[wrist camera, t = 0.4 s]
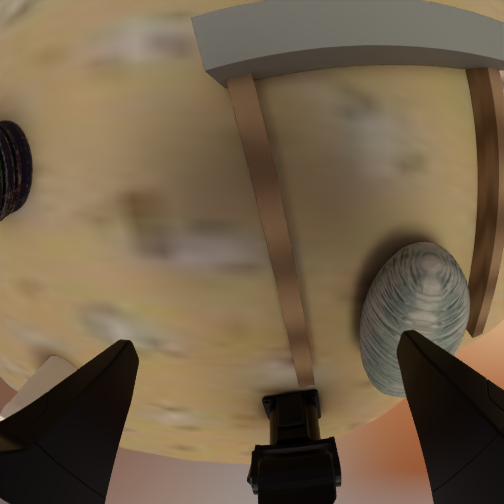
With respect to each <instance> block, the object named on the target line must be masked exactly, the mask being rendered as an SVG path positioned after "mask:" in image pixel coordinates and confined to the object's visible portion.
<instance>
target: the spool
mask: <svg viewBox="0 0 504 504" xmlns="http://www.w3.org/2000/svg"><path fill="white" fill-rule="evenodd" d="M469 313H470V296H469V289H468V286H467V282H466V278H465V276H464V274H463V272H462V270H461V268H460V266H459V265H458V263H457V262H456V260H455V259H454V257H453V256H452V255H451V254H450V253H449V252H448V251H447V250H445V249H444V248H442V247H441V246H439V245H436V244H434V243H429V242H417V243H414V244H410V245H406V246H405V247H403V248H401V249H400V250H399V251H397V252H396V253H395V254H394V255H393V256H392V257H391V258H390V259H389V260H388V261H387V262H386V263H385V264H384V265H383V267H382V268H381V270H380V271H379V273H378V274H377V276H376V277H375V279H374V281H373V282H372V284H371V286H370V289H369V291H368V294H367V296H366V299H365V301H364V304H363V308H362V312H361V319H360V328H359V330H360V351H361V358H362V362H363V366H364V369H365V371H366V373H367V375H368V377H369V379H370V381H371V383H372V384H373V385H374V386H375V387H376V388H377V389H378V390H379V391H381V392H382V393H384V394H387V395H391V396H398V397H406V394H405V390H404V386H403V381H402V377H401V372H400V368H399V363H398V359H397V354H396V351H397V346H398V343H399V340H400V337H401V334H402V332H403V331H406V330H416V331H417V332H419V333H420V334H422V335H423V336H425V337H426V338H428V339H429V340H431V341H432V342H434V343H435V344H437V345H438V346H440V347H441V348H443V349H444V350H446V351H447V352H449V353H450V354H452V355H453V356H454V354H455V353H456V351H457V349H458V347H459V345H460V342H461V340H462V338H463V336H464V333H465V330H466V326H467V323H468V319H469Z"/></svg>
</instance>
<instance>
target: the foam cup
mask: <svg viewBox="0 0 504 504" xmlns="http://www.w3.org/2000/svg"><path fill="white" fill-rule="evenodd" d="M75 371H77V369H76V367H75V366H73V365H72V364H71V363H69V362H68V361H67V360H65V359H63V358H61V357H58V356H51V357H50V358H49V359H48V360H47V361H46V362H45V363H44V364H43V365H42V366H41V367H40V368H39V369H38V370H37V371H36V372H35V374H34V375H33V376H32V377H31V378H30V379H29V380H28V381H27V383H26V384H25V385H24V386H23V387H22V388H21V389H20V391H19V392H18V393H17V394H16V395H15V397H14V398H13V399H12V400H11V401H10V402H9V403H7V404H6V405H5V407H4V408H3V410H2V412H1V413H0V421H2V420H4V419H6V418H7V417H9V416H11V415H12V414H14V413H16V412H17V411H19V410H21V409H22V408H24V407H26V406H27V405H29V404H30V403H32V402H33V401H35V400H36V399H38V398H39V397H41V396H42V395H43V394H45V393H46V392H49V390H50V389H52V388H53V387H54V386H56V385H57V384H59V383H60V382H61V381H63V380H64V379H65V378H67V377H68V376H70V375H71V374H72V373H74V372H75Z"/></svg>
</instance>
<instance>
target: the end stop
mask: <svg viewBox="0 0 504 504" xmlns="http://www.w3.org/2000/svg"><path fill="white" fill-rule="evenodd" d="M191 20H192V24H193V28H194V32H195V36H196V39H197V43H198V47H199V51H200V55H201V58H202V62H203V66H204V70H205V71H206V72H207V73H208V74H209V75H210V76H212V77H213V78H214V79H215V80H216V81H217V82H219V83H220V84H221V85H222V86H223V87H227V86H228V85H227V81H226V79H230V78H234V77H238V76H242V75H247V74H252V77H253V80H257V79H262V78H267V77H272V76H278V75H283V74H289V73H296V72H302V71H310V70H318V69H326V68H336V67H349V66H365V65H422V66H438V67H450V68H459V69H474V68H485V67H489V68H494V69H498V70H504V22H501V21H498V20H495V19H493V18H490V17H487V16H484V15H481V14H477V13H474V12H471V11H467V10H464V9H460V8H456V7H452V6H448V5H443V4H438V3H433V2H428V1H422V0H265V1H259V2H253V3H248V4H243V5H238V6H234V7H229V8H225V9H221V10H217V11H213V12H210V13H206V14H203V15H199V16H196V17H193V18H191Z"/></svg>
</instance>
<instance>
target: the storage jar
mask: <svg viewBox="0 0 504 504" xmlns="http://www.w3.org/2000/svg"><path fill="white" fill-rule="evenodd" d="M31 182H32V158H31V152H30V147H29V144H28V141H27V139H26V137H25V134H24V133H23V131H22V130H21V128H20V127H19V126H18V125H17V124H15V123H14V122H11V121H1V122H0V221H2V220H3V219H4V218H5V217H6V216H8V215H9V214H11V213H13V212H15V211H17V210H18V209H20V208H21V207H22V205H23V204H24V203H25V201H26V199H27V197H28V194H29V192H30V187H31Z"/></svg>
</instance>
